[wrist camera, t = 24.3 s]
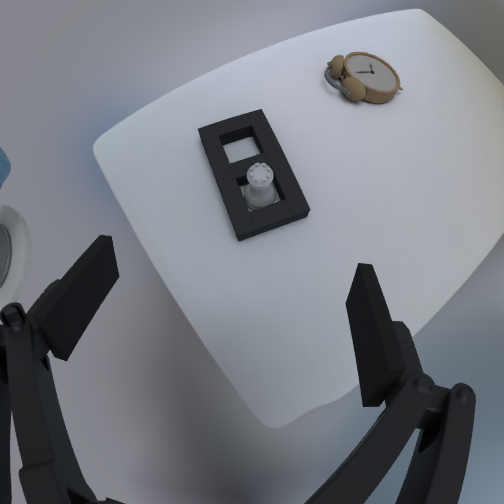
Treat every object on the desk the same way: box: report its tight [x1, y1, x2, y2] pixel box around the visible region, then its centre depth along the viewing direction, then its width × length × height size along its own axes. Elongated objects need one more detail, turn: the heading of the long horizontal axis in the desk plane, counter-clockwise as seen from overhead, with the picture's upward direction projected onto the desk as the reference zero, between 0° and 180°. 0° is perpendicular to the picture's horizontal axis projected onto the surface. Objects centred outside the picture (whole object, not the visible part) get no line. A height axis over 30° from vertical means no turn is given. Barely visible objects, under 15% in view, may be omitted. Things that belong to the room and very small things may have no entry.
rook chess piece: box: [244, 163, 275, 210], centre depth 40 cm, size 4×4×8 cm
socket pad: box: [198, 109, 310, 241], centre depth 43 cm, size 10×18×3 cm, turn 20°
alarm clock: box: [325, 52, 403, 103], centre depth 47 cm, size 11×5×15 cm
